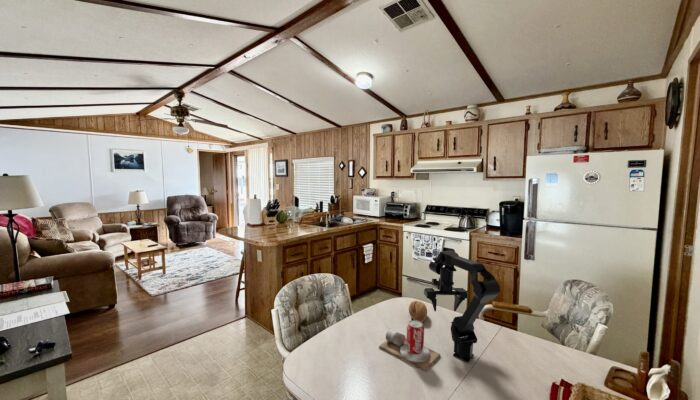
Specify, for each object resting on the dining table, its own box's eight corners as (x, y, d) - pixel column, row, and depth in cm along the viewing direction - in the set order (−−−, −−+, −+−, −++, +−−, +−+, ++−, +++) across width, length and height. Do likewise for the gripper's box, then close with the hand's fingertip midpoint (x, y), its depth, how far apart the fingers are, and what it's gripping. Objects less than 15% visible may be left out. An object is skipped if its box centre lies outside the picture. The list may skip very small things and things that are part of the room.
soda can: (426, 351, 124) (427, 323, 122) (417, 358, 119) (418, 330, 117) (412, 344, 129) (413, 317, 127) (402, 350, 124) (403, 323, 122)
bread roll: (408, 323, 150) (409, 308, 149) (408, 310, 165) (408, 296, 164) (428, 325, 149) (428, 310, 148) (425, 311, 163) (426, 297, 162)
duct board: (440, 356, 124) (440, 342, 123) (425, 371, 114) (425, 356, 113) (395, 335, 138) (396, 323, 138) (379, 347, 129) (379, 334, 128)
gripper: (459, 272, 143) (457, 303, 144) (421, 272, 142) (419, 303, 144) (469, 280, 132) (467, 314, 133) (428, 280, 131) (426, 314, 133)
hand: (444, 311), depth 136 cm, fingers open, 9 cm apart
